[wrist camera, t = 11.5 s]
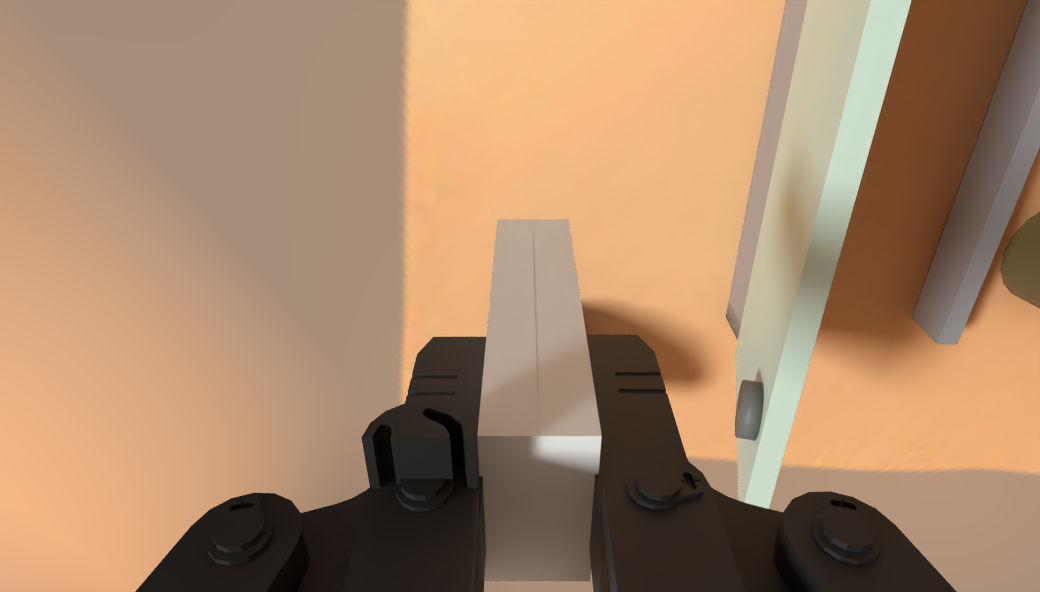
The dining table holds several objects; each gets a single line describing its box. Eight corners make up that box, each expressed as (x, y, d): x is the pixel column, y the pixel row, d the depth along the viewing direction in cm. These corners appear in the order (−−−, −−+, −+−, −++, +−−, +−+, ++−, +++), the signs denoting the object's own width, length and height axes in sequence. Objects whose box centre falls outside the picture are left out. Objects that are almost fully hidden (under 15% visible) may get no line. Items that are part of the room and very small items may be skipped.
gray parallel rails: (836, -262, 22) (869, -281, 20) (1153, -264, 22) (1220, -284, 20) (726, 317, 34) (739, 343, 32) (930, 317, 34) (957, 344, 32)
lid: (895, -290, 19) (845, -286, 20) (1046, -478, 10) (948, -465, 11) (752, 353, 32) (722, 349, 32) (762, 530, 22) (721, 521, 23)
